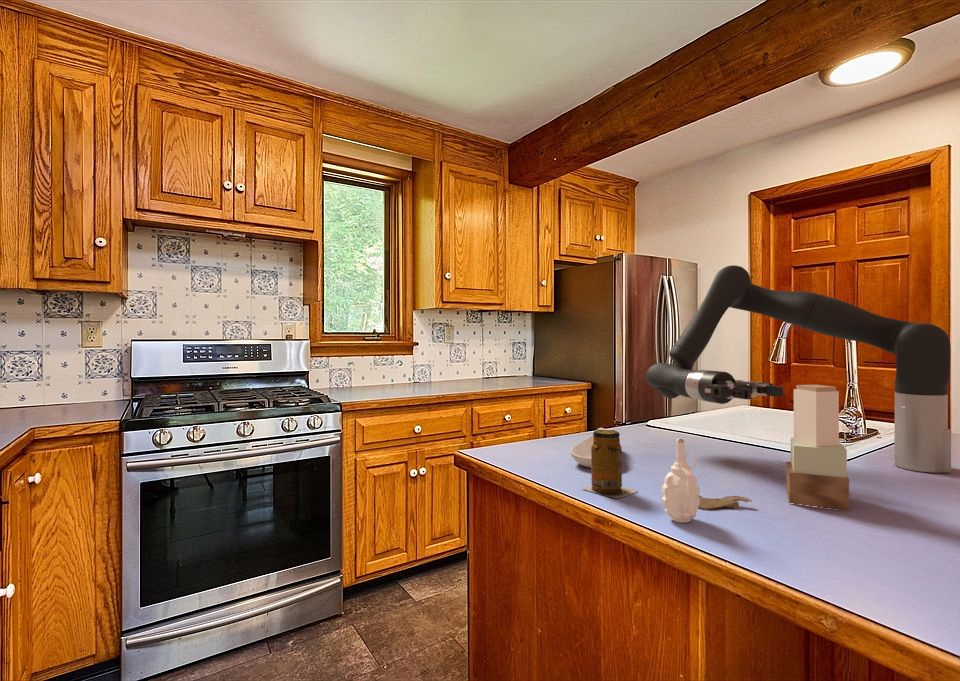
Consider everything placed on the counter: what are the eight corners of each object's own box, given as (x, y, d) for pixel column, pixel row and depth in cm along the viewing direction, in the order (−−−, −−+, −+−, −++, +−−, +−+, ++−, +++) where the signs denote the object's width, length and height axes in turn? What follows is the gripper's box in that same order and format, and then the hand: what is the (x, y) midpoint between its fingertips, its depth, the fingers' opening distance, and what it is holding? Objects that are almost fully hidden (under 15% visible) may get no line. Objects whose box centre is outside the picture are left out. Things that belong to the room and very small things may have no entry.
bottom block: (840, 497, 98) (840, 466, 97) (848, 512, 90) (849, 478, 89) (785, 491, 102) (786, 461, 102) (789, 504, 94) (789, 472, 94)
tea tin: (815, 439, 98) (815, 384, 98) (838, 445, 93) (838, 386, 93) (793, 441, 97) (793, 385, 97) (816, 446, 92) (816, 387, 92)
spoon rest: (615, 475, 115) (614, 443, 114) (564, 469, 120) (564, 439, 120) (632, 452, 136) (631, 425, 136) (588, 448, 141) (588, 422, 141)
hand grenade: (655, 513, 90) (654, 435, 89) (689, 512, 90) (688, 434, 90) (675, 530, 82) (674, 444, 82) (711, 528, 83) (711, 443, 83)
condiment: (603, 482, 109) (603, 427, 108) (638, 492, 102) (637, 432, 102) (581, 489, 104) (581, 431, 104) (616, 500, 97) (616, 438, 97)
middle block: (839, 467, 97) (839, 441, 97) (846, 478, 90) (846, 450, 90) (790, 462, 101) (790, 437, 101) (793, 472, 94) (793, 445, 94)
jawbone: (718, 521, 88) (717, 510, 88) (636, 490, 107) (635, 481, 107) (753, 509, 92) (752, 498, 92) (668, 481, 111) (667, 471, 111)
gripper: (684, 371, 119) (738, 376, 104) (733, 369, 124) (792, 373, 108) (685, 403, 119) (739, 413, 104) (733, 399, 124) (792, 408, 108)
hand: (766, 393), depth 106 cm, fingers open, 8 cm apart
